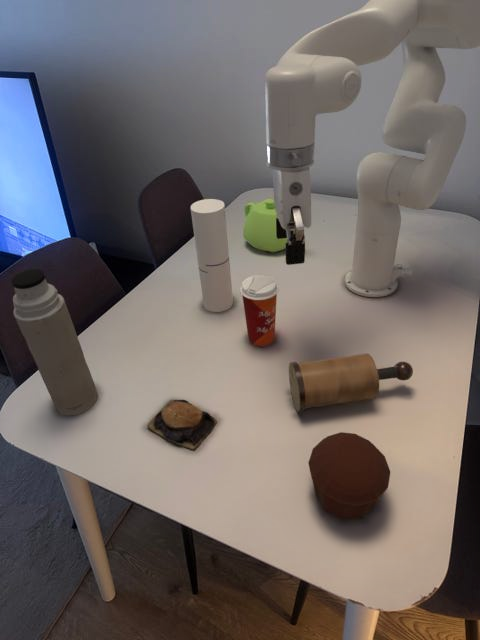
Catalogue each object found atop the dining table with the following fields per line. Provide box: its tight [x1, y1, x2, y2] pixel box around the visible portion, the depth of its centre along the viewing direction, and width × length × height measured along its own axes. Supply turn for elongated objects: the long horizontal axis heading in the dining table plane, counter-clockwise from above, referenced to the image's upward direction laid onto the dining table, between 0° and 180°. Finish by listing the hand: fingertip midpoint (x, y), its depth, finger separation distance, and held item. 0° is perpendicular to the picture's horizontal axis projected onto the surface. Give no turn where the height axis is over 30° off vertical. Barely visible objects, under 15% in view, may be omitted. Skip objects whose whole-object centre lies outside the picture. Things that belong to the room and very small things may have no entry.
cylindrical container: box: [190, 198, 234, 313], centre depth 104 cm, size 7×7×25 cm
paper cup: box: [239, 274, 279, 347], centre depth 96 cm, size 8×8×14 cm
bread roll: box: [146, 399, 218, 451], centre depth 81 cm, size 11×8×4 cm
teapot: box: [242, 198, 295, 253], centre depth 129 cm, size 22×15×13 cm
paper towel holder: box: [288, 353, 414, 412], centre depth 82 cm, size 9×9×22 cm
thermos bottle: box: [11, 268, 99, 416], centre depth 80 cm, size 8×8×28 cm
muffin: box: [308, 432, 391, 521], centre depth 66 cm, size 12×11×10 cm
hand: (289, 249), depth 83 cm, fingers open, 9 cm apart
